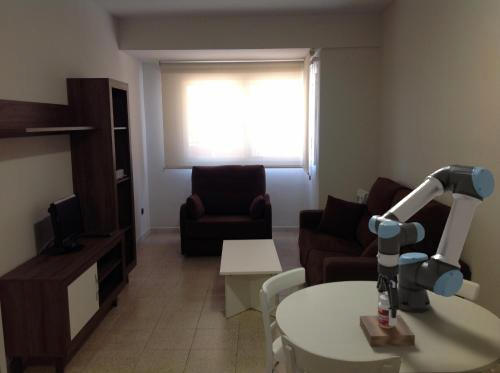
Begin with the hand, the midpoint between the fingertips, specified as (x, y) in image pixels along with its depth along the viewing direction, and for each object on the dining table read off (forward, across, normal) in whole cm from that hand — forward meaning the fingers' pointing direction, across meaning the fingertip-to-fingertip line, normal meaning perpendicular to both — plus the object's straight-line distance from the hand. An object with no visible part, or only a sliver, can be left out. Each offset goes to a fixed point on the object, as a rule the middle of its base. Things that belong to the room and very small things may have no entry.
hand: (386, 316), depth 167 cm
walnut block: (+8, 0, 0) cm, 8 cm away
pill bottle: (+4, 0, 0) cm, 4 cm away
